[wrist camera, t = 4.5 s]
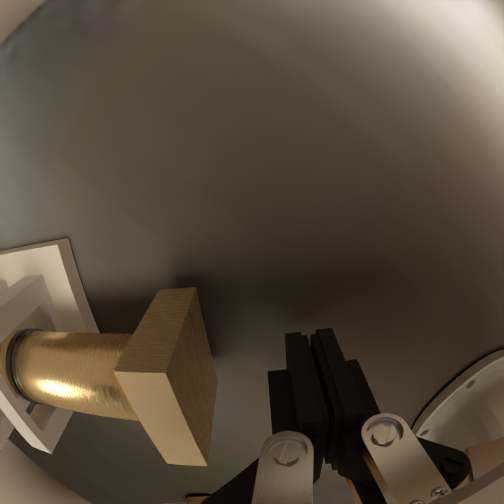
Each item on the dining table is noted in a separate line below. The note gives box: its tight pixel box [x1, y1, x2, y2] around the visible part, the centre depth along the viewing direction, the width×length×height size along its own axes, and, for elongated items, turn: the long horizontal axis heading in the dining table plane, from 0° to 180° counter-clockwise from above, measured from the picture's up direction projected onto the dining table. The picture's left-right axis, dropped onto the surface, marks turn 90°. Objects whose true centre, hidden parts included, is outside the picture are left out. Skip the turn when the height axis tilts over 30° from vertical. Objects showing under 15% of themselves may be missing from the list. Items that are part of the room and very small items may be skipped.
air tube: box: [0, 287, 218, 466], centre depth 10 cm, size 16×5×5 cm, turn 96°
